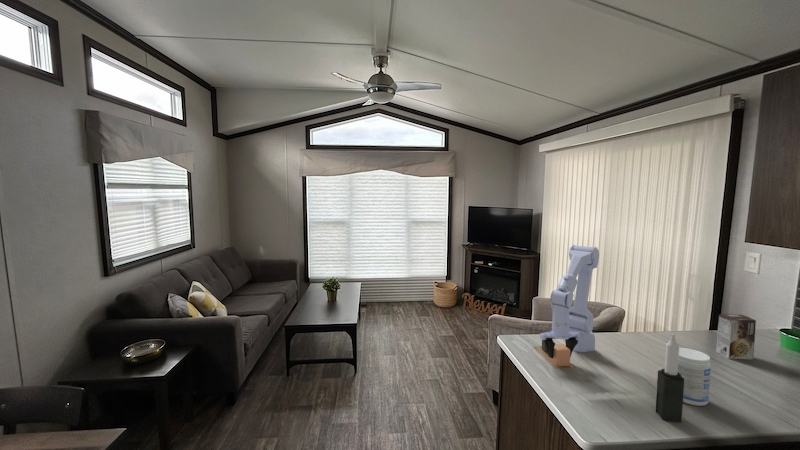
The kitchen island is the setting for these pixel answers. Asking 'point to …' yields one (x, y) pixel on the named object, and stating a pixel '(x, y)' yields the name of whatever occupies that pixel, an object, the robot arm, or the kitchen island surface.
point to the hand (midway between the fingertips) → (559, 356)
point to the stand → (544, 353)
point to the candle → (670, 386)
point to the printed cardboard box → (736, 336)
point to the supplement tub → (694, 376)
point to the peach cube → (561, 355)
